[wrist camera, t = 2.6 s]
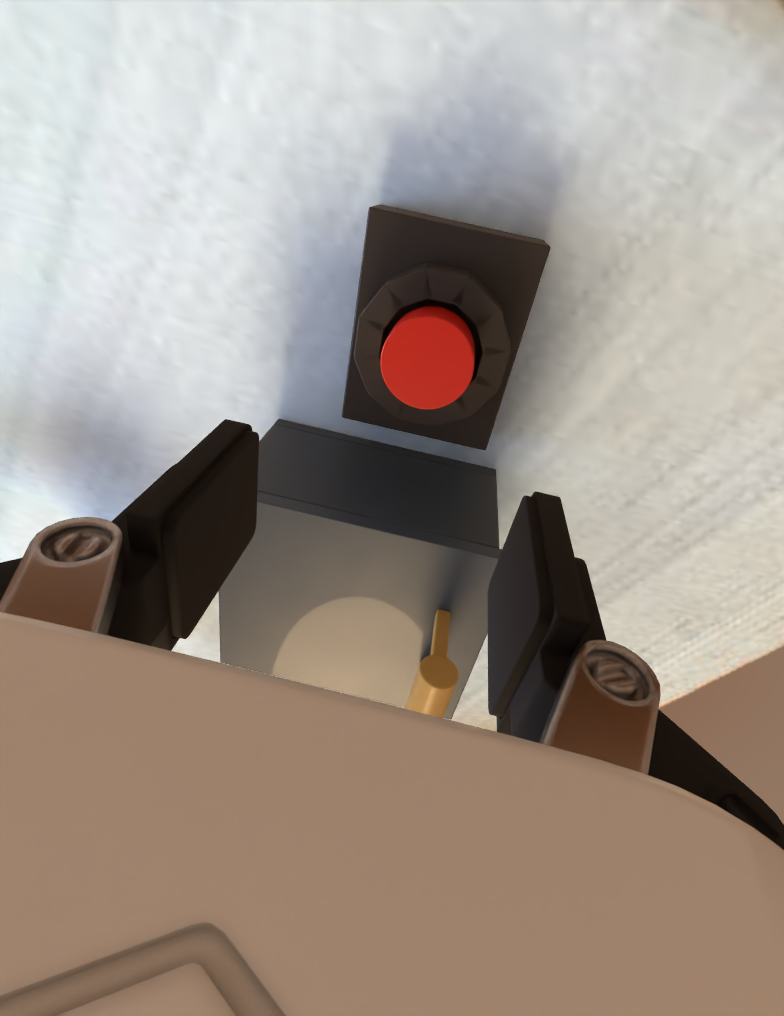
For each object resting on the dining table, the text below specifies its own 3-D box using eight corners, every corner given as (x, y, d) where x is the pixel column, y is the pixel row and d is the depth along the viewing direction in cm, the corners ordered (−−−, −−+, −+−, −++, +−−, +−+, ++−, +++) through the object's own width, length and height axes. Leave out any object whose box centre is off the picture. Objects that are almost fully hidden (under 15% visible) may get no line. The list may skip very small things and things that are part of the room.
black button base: (378, 204, 24) (359, 208, 20) (545, 240, 23) (556, 251, 20) (351, 401, 29) (332, 432, 26) (485, 432, 29) (485, 468, 25)
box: (496, 469, 30) (499, 547, 24) (447, 613, 37) (439, 704, 31) (278, 418, 31) (223, 482, 24) (270, 571, 38) (226, 651, 31)
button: (396, 296, 22) (389, 306, 20) (485, 316, 22) (485, 328, 20) (381, 383, 24) (373, 398, 22) (462, 401, 24) (460, 418, 22)
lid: (516, 552, 24) (524, 642, 19) (451, 708, 31) (446, 801, 26) (222, 482, 24) (160, 554, 20) (225, 652, 31) (180, 735, 27)
